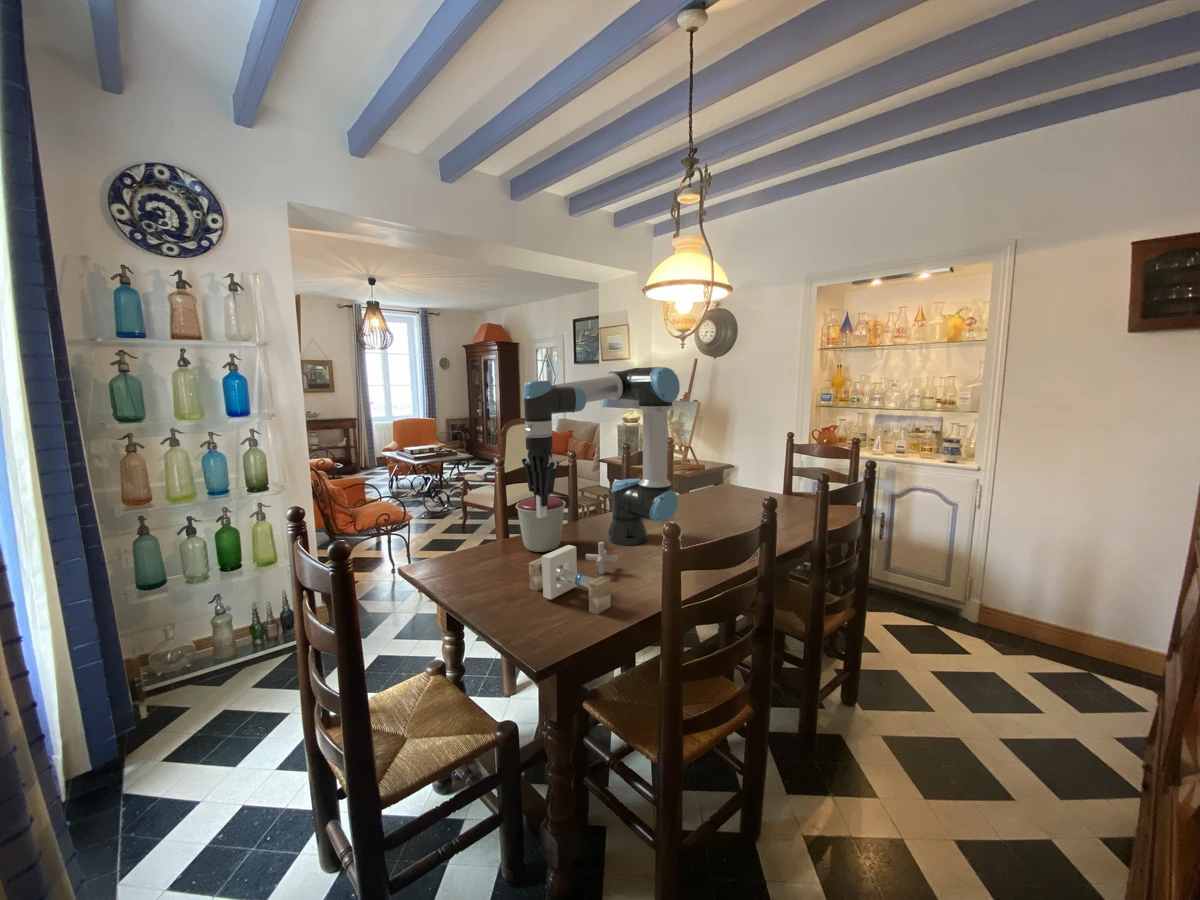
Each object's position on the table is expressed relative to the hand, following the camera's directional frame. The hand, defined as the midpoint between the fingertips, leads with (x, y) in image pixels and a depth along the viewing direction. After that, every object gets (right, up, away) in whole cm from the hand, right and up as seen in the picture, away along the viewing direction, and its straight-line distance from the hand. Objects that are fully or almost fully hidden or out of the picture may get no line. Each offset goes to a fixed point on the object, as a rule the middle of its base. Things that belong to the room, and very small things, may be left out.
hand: (541, 516), depth 138 cm
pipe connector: (+17, -20, +14) cm, 30 cm away
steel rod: (+8, -18, -3) cm, 20 cm away
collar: (+6, -21, -1) cm, 22 cm away
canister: (-4, -17, +38) cm, 42 cm away
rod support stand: (+8, -23, -2) cm, 24 cm away
